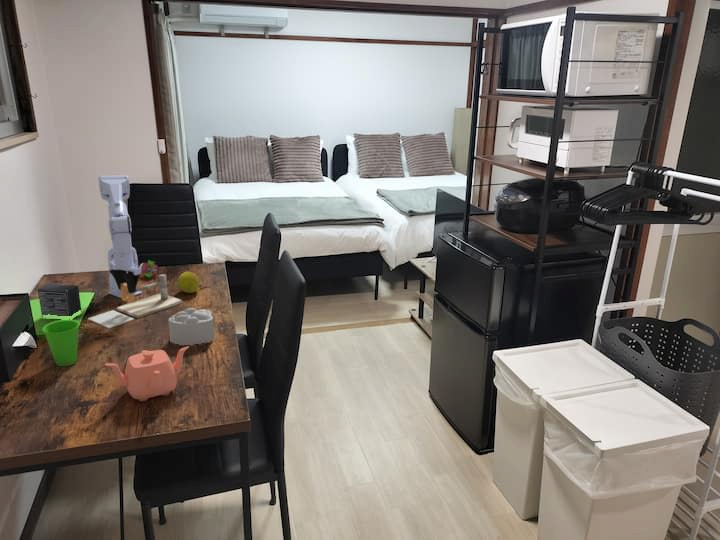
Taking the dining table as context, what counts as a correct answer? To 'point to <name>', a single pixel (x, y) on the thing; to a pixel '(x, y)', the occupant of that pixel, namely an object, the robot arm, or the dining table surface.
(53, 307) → the small box
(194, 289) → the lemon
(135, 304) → the hook stand
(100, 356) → the dining table surface
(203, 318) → the lumpy-topped squat cylinder
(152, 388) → the teapot
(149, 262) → the geometric puzzle
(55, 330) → the cup
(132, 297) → the c link
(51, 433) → the dining table surface
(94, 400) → the dining table surface
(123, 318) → the grey mat
